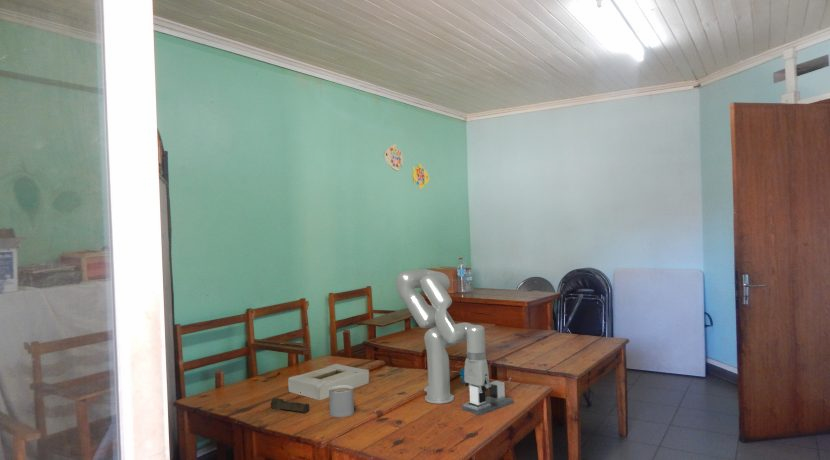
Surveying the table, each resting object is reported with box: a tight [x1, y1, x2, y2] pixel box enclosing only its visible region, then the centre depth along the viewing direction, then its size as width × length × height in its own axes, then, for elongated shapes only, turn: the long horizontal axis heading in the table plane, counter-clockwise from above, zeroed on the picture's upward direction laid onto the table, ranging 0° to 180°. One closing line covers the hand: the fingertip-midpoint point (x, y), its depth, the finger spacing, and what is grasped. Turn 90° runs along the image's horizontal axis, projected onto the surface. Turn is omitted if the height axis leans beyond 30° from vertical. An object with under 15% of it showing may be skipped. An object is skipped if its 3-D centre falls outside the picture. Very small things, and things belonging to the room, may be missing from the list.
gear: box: [458, 367, 467, 385], centre depth 249 cm, size 11×6×10 cm
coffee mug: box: [328, 385, 355, 418], centre depth 216 cm, size 13×10×10 cm
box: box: [287, 363, 370, 401], centre depth 251 cm, size 23×8×32 cm
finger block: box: [469, 385, 487, 405], centre depth 213 cm, size 4×5×7 cm
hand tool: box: [270, 397, 310, 415], centre depth 220 cm, size 19×4×5 cm, turn 63°
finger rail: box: [461, 380, 514, 416], centre depth 216 cm, size 10×21×8 cm, turn 130°
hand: (477, 400), depth 212 cm, fingers closed on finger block, 4 cm apart
